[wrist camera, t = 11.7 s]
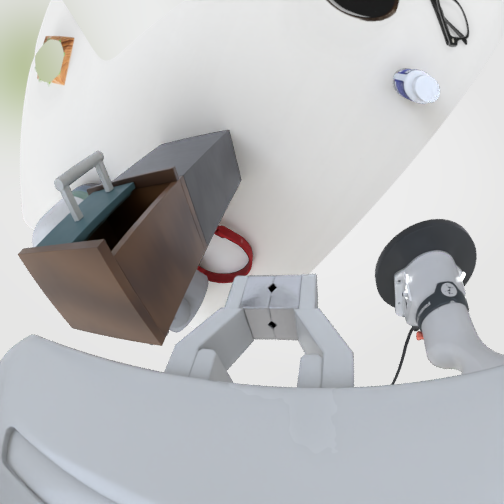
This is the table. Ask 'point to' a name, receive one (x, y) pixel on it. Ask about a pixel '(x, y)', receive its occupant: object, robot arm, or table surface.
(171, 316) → the cabinet
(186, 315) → the alarm clock
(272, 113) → the table surface
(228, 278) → the headphones
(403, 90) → the pill bottle
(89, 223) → the sliding door
